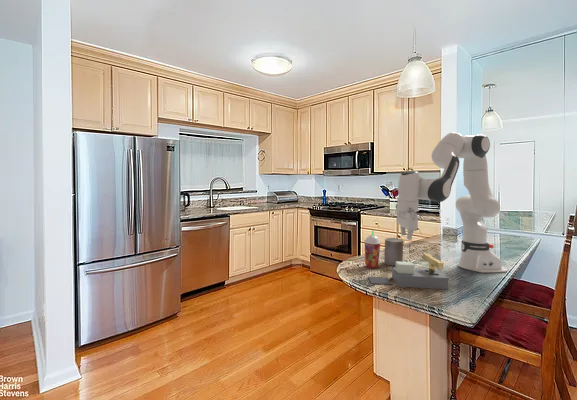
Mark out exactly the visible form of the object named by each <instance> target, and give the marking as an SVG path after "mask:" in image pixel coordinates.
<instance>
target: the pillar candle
mask: <svg viewBox="0 0 577 400" xmlns="http://www.w3.org/2000/svg"><path fill="white" fill-rule="evenodd" d="M383 255H384V256H383V257H384V258H383V260H384V261H383V262H384V264H385V265H387V266H390V267H395V266H396V261H400V262H404V259H403V258H404V257H403V255H404V240H403V239H401V238H397V237H395V236H394V237H388V238H385V239H384V254H383Z"/></svg>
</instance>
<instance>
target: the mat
mask: <svg viewBox="0 0 577 400" xmlns="http://www.w3.org/2000/svg"><path fill="white" fill-rule="evenodd" d="M367 278H368V280H369V282H370V284H371V285H381V284H384V285H383V286H392V283H391V281H390V279H389V278H388V277H384V276H382V277H381V276H368V277H367Z"/></svg>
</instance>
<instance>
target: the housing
mask: <svg viewBox="0 0 577 400" xmlns="http://www.w3.org/2000/svg"><path fill="white" fill-rule="evenodd" d="M391 267H392V270H391V272H392V273H391V278H392V279H393V281H394V283H395V284H396V285H397V287H398V286H399V288H400V287H401V288H417V289H418V288H419V289H434V290H435V289H436V290H437V289H440V290H449V280H450V277H449V276H447V275H446V274H444V273H443V272H442V271H441V270H440V269H438V268H435V273H429V268H418V267H417V268H415V267H414V274H406V273H398V272H397V271H396V270H395V266H391Z"/></svg>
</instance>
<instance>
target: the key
mask: <svg viewBox="0 0 577 400" xmlns="http://www.w3.org/2000/svg"><path fill="white" fill-rule="evenodd" d="M422 259H423V260H425V261H426V262H427V263H428V264H429V265H428V269H429V273H435V269H438V270H444V262H442V261H441V260H439V259H437V258H436V257H434V256H432V255H431V254H429V253H422Z"/></svg>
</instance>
